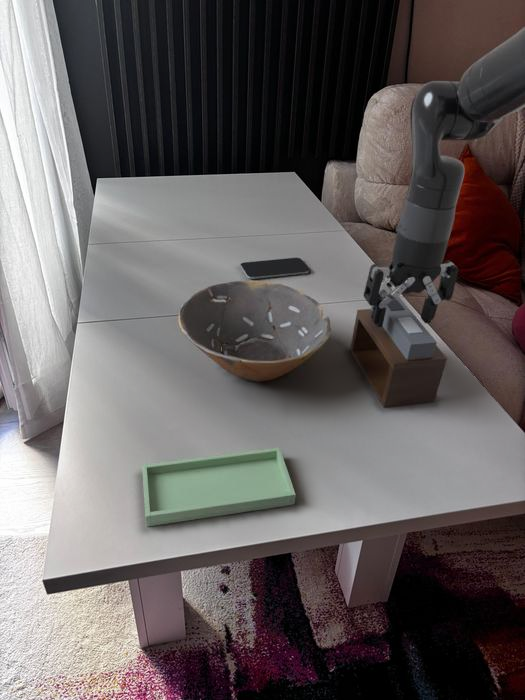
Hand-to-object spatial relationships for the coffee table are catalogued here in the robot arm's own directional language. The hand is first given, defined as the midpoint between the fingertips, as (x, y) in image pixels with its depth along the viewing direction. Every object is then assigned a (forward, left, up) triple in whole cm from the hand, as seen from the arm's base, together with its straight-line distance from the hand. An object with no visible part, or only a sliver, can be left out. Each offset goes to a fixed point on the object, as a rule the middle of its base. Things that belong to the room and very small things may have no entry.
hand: (401, 322), depth 91 cm
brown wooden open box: (0, 0, -11) cm, 11 cm away
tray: (+3, +39, -11) cm, 41 cm away
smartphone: (+40, -15, -11) cm, 44 cm away
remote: (0, 0, -2) cm, 2 cm away
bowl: (+19, +15, -11) cm, 27 cm away
